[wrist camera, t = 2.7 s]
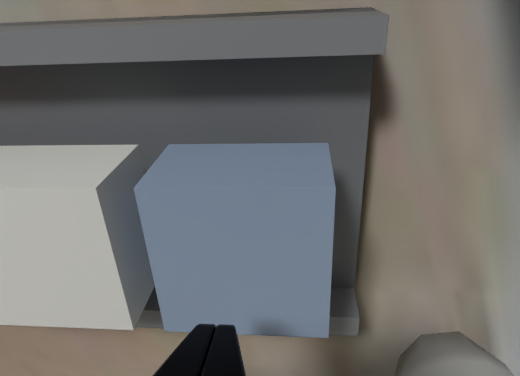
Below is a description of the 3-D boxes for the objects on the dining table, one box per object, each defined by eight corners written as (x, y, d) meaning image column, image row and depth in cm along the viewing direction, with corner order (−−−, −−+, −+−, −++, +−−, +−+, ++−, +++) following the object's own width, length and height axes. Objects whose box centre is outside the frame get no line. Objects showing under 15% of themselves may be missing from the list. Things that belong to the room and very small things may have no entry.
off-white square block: (39, 265, 16) (-15, 324, 13) (-7, 145, 13) (-84, 187, 11) (163, 268, 15) (133, 330, 12) (138, 144, 13) (95, 188, 10)
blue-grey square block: (188, 268, 15) (164, 331, 12) (168, 144, 13) (133, 188, 10) (323, 272, 14) (328, 338, 12) (328, 143, 12) (336, 188, 9)
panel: (-35, 272, 21) (-88, 318, 18) (-155, 30, 15) (-258, 41, 13) (349, 282, 19) (357, 336, 16) (370, 7, 13) (389, 15, 11)
